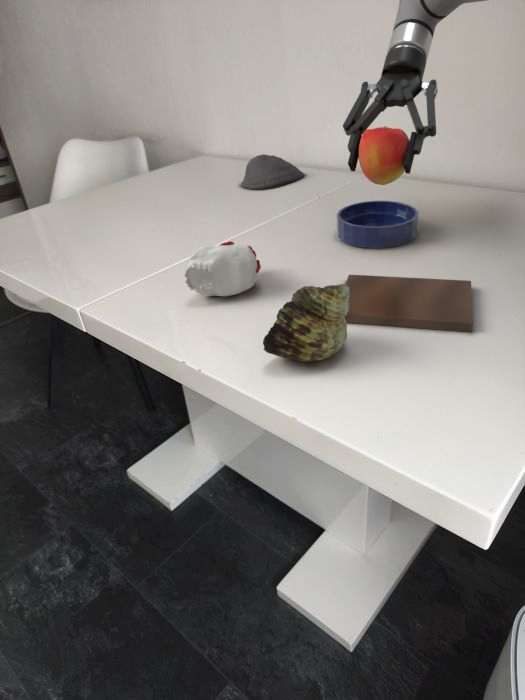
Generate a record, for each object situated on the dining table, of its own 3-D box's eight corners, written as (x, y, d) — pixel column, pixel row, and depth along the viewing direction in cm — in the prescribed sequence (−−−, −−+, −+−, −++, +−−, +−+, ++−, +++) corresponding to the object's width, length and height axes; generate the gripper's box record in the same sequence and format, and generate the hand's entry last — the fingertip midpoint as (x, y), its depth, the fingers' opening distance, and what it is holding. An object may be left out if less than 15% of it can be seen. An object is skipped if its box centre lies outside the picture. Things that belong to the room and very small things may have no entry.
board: (469, 288, 89) (471, 280, 88) (471, 332, 78) (472, 323, 77) (348, 282, 94) (348, 274, 94) (334, 321, 83) (333, 313, 83)
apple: (397, 192, 95) (400, 132, 90) (348, 188, 100) (348, 131, 95) (416, 177, 102) (419, 121, 97) (369, 174, 107) (370, 120, 101)
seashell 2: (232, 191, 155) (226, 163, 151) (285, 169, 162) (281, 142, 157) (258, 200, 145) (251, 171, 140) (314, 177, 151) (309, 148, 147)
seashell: (274, 332, 82) (269, 272, 77) (350, 333, 80) (350, 271, 75) (263, 372, 74) (256, 307, 68) (347, 374, 71) (347, 308, 66)
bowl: (419, 221, 116) (420, 201, 114) (414, 251, 103) (415, 228, 101) (344, 220, 121) (344, 200, 118) (330, 248, 108) (330, 226, 106)
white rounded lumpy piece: (184, 303, 92) (220, 276, 104) (246, 308, 88) (275, 279, 101) (178, 251, 88) (216, 229, 100) (242, 255, 84) (273, 231, 97)
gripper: (469, 70, 98) (443, 182, 95) (353, 74, 108) (326, 176, 105) (468, 39, 92) (439, 158, 89) (344, 47, 101) (315, 155, 98)
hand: (378, 168), depth 97 cm, fingers closed on apple, 9 cm apart
